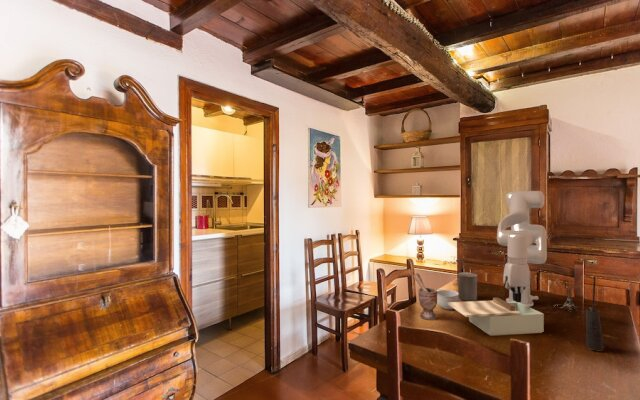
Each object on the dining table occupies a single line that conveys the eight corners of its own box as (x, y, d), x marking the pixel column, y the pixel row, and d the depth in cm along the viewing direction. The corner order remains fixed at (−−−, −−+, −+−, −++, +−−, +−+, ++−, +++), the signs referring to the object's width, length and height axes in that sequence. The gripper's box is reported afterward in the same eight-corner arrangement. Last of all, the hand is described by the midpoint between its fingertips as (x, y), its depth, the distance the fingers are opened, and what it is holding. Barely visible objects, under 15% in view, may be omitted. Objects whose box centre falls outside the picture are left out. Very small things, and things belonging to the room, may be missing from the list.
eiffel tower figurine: (585, 308, 172) (585, 282, 172) (590, 315, 163) (590, 288, 163) (550, 304, 179) (550, 279, 179) (553, 310, 170) (553, 284, 170)
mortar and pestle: (410, 317, 161) (410, 275, 160) (415, 311, 168) (414, 271, 168) (435, 321, 155) (435, 278, 154) (439, 315, 162) (439, 274, 162)
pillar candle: (459, 300, 185) (459, 273, 185) (457, 295, 194) (457, 269, 194) (478, 302, 182) (478, 274, 182) (475, 296, 191) (475, 270, 191)
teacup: (462, 311, 168) (462, 295, 168) (440, 311, 168) (440, 295, 168) (451, 302, 182) (451, 287, 182) (431, 302, 182) (431, 287, 182)
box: (517, 318, 158) (517, 301, 158) (543, 332, 142) (543, 313, 142) (469, 320, 156) (469, 303, 155) (490, 335, 140) (490, 316, 139)
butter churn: (577, 340, 135) (578, 270, 134) (609, 347, 129) (610, 274, 128) (577, 348, 128) (577, 275, 127) (610, 356, 122) (611, 279, 121)
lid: (496, 301, 157) (496, 296, 157) (520, 314, 141) (520, 307, 141) (447, 304, 154) (447, 298, 154) (466, 316, 138) (466, 310, 138)
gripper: (526, 258, 154) (526, 297, 155) (496, 259, 153) (496, 299, 153) (539, 261, 147) (538, 303, 147) (507, 263, 145) (506, 305, 146)
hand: (516, 301), depth 150 cm, fingers closed
